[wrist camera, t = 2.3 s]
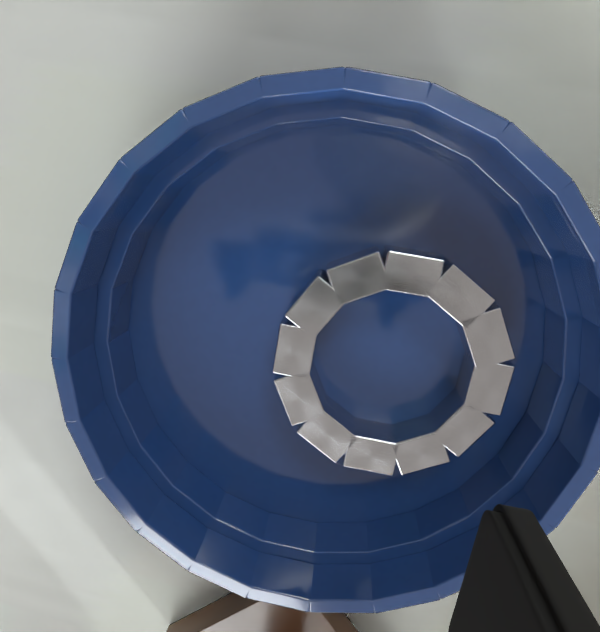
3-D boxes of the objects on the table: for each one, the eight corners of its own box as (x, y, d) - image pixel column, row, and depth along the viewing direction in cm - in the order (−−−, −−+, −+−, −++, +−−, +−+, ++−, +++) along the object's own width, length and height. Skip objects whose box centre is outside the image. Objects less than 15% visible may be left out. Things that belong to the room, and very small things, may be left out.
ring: (526, 268, 18) (543, 276, 17) (468, 470, 20) (478, 493, 19) (298, 228, 19) (293, 233, 17) (266, 431, 21) (259, 450, 19)
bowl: (403, -19, 17) (422, -89, 13) (650, 402, 20) (735, 464, 15) (26, 277, 21) (-58, 301, 17) (277, 592, 24) (261, 683, 19)
